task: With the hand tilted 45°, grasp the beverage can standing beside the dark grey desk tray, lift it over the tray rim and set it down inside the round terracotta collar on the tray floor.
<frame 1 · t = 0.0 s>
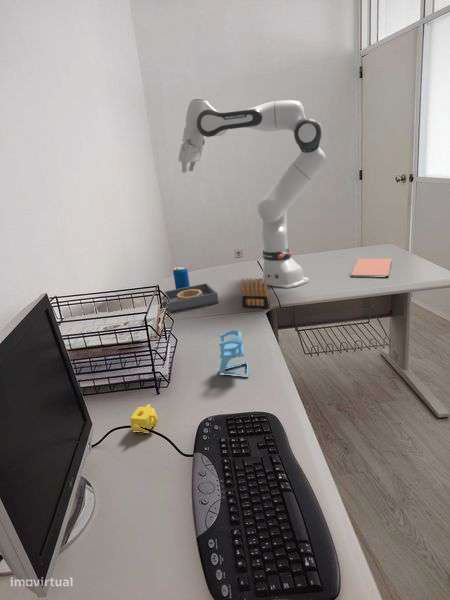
hand: (187, 171, 183), 52 cm above the table, tool tilted 20°, fingers open, 8 cm apart
tray: (190, 302, 173), on the table
chair: (234, 372, 115), on the table
beverage can: (183, 293, 186), on the table
notebook: (370, 270, 190), on the table
yellow block with hole: (147, 430, 94), on the table
ammunition clip: (256, 308, 159), on the table
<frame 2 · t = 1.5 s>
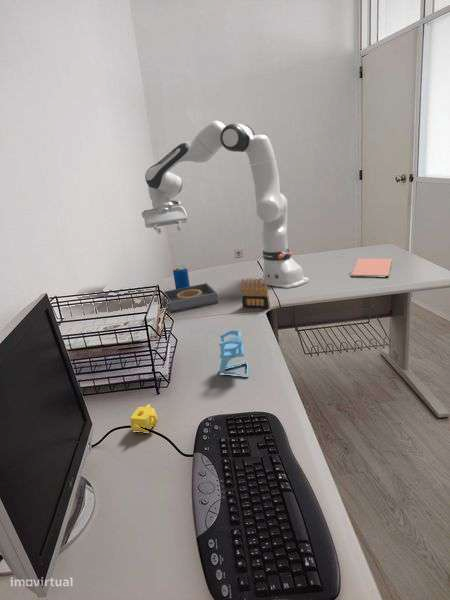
hand: (169, 231, 188), 27 cm above the table, tool tilted 45°, fingers open, 8 cm apart
nothing on the table moved.
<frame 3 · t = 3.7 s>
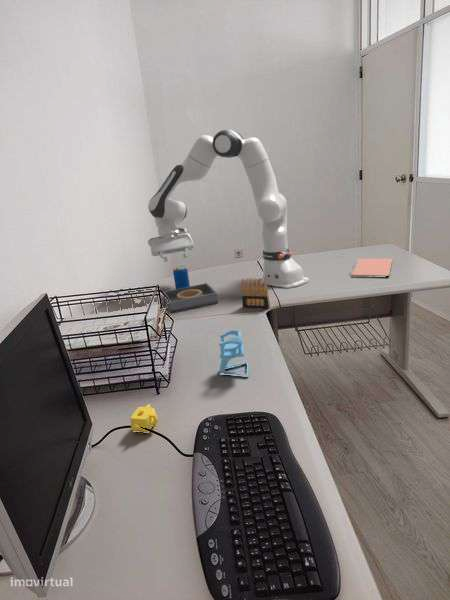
hand: (175, 259, 188), 14 cm above the table, tool tilted 45°, fingers open, 8 cm apart
nothing on the table moved.
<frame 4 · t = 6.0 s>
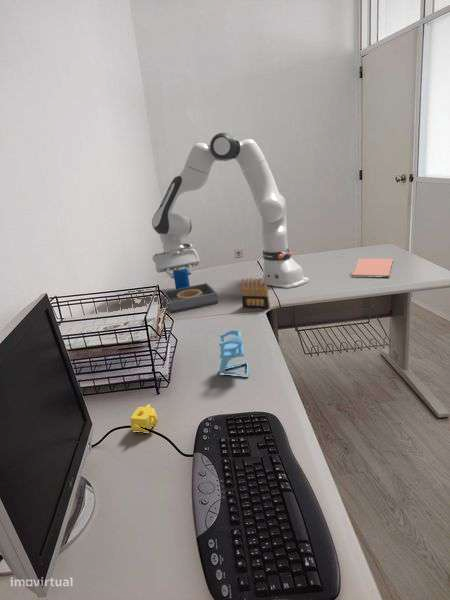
hand: (181, 276, 182), 8 cm above the table, tool tilted 45°, fingers closed on beverage can, 6 cm apart
beverage can: (183, 293, 186), on the table, touching gripper
everything else where it was.
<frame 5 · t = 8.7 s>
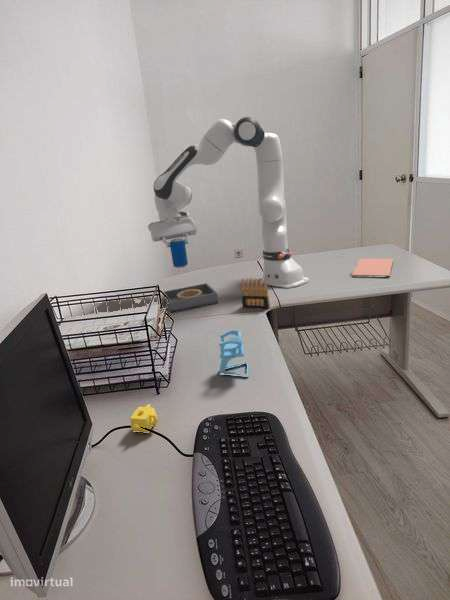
hand: (177, 244, 176), 23 cm above the table, tool tilted 45°, fingers closed on beverage can, 6 cm apart
beverage can: (180, 266, 180), point 13 cm above the table, touching gripper
everything else where it was.
when the fingers open (11 cm above the table, at t = 11.9 s): beverage can stays where it is, resting on tray.
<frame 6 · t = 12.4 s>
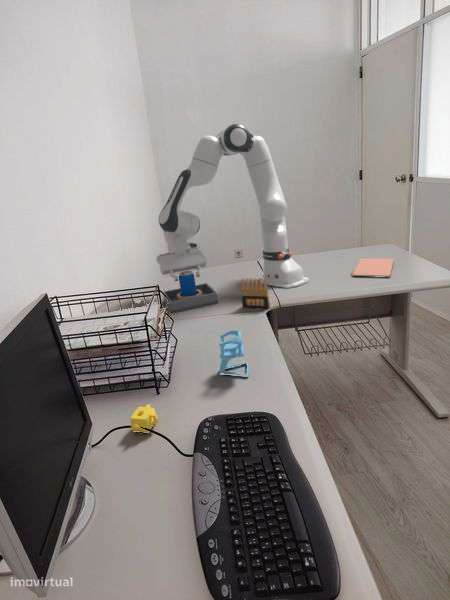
hand: (187, 278, 169), 11 cm above the table, tool tilted 45°, fingers open, 8 cm apart
beverage can: (189, 300, 173), point 1 cm above the table, touching tray
everything else where it was.
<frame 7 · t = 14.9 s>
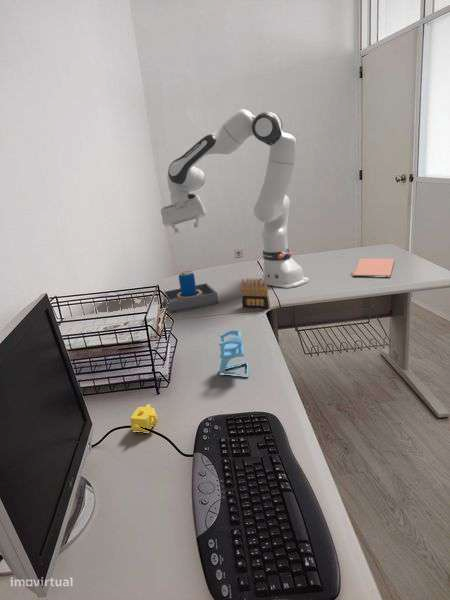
hand: (186, 229, 183), 27 cm above the table, tool tilted 30°, fingers open, 8 cm apart
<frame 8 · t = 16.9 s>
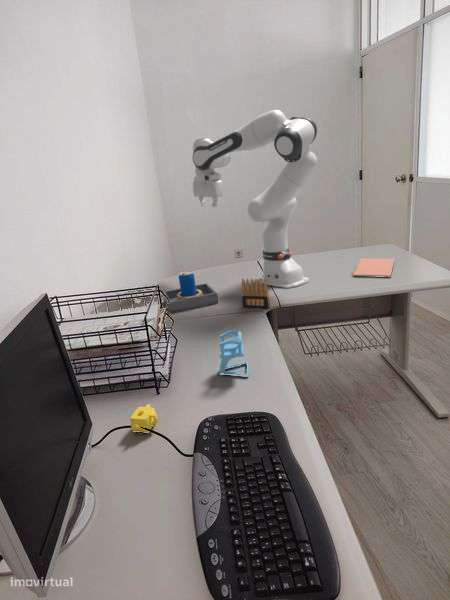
hand: (209, 206, 193), 35 cm above the table, tool pointing down, fingers open, 8 cm apart
at the end: beverage can 0.4 cm off-centre on the tray, point 0.8 cm above the tray's base; beverage can tilted 0°; the gripper is holding nothing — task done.
